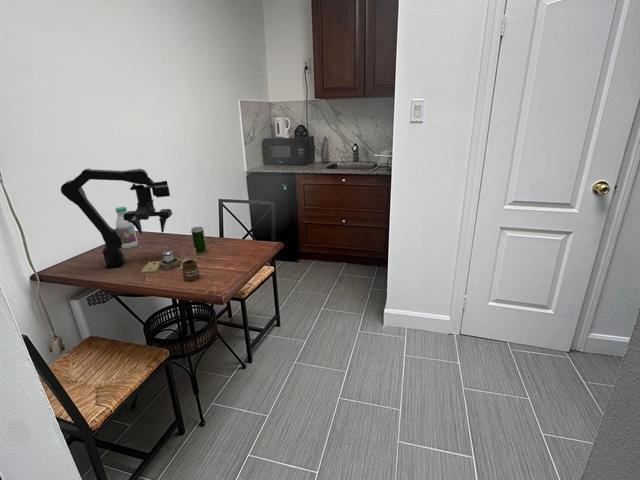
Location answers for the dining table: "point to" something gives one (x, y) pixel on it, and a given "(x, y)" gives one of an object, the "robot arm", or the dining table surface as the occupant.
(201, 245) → the beer can
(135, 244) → the milk bottle
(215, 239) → the dining table surface
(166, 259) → the steel pin
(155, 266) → the octagon ring with plates
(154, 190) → the robot arm
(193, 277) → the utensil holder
